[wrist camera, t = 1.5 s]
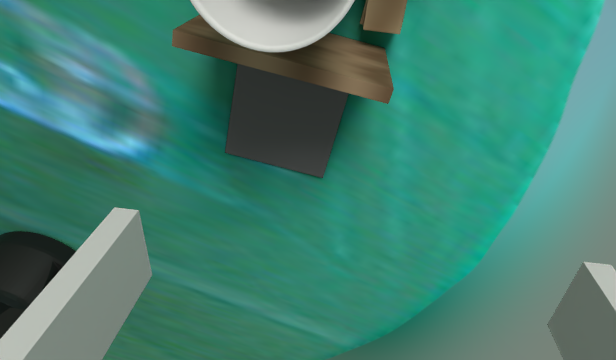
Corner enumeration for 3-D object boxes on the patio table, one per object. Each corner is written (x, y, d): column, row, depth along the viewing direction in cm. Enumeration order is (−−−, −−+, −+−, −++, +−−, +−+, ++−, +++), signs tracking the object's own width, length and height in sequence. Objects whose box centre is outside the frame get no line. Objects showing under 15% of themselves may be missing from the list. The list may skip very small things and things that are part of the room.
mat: (226, 150, 41) (224, 152, 40) (241, 40, 35) (240, 42, 34) (323, 175, 41) (322, 177, 41) (355, 71, 35) (354, 72, 35)
